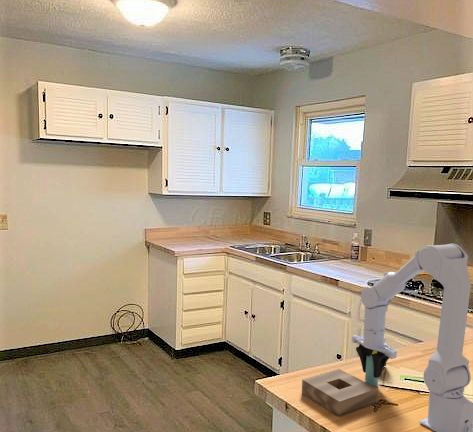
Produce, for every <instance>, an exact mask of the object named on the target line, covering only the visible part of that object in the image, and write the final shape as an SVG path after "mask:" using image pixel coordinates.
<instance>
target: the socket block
mask: <svg viewBox="0 0 473 432" xmlns="http://www.w3.org/2000/svg"><path fill="white" fill-rule="evenodd" d="M378 390H379V389H378V387H377V386H376V387H374V386H372V385H370V384H368V383H366V382H365V380H362V379H360V378H358V377H356V376H355V375H352V374H351V373H348V372H346V371H344V370H342V369H341V368H337V369H333V370H330V371H327V372H324V373H320V374H317V375H313V376H309V377H307V378H303V379H302V380H301V394H302V395H303V396H305V397H306V398H307V399H309V400H311V401H313V402H314V401H315V402H314V403H316V402H317V403H318V405H319V404H320V406H321V407H322V408H324V409H325V408H326V409H325V410H327V411H328V412H330V411H331V412H330V413H332V414H333V413H334V414H333V415H334V416H336V415H337V416H336V417H338V416H340V417H342V415H343V416H345V415H348V414H351V413H353V412H356V411H359V410H362V409H365V408H367V407H370V406H372V405H375V404H378V392H379V391H378ZM317 403H316V404H317Z"/></svg>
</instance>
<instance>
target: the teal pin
mask: <svg viewBox="0 0 473 432" xmlns="http://www.w3.org/2000/svg"><path fill="white" fill-rule="evenodd" d="M364 376H365V377H364V382H366V383H368V384H370V385H372V386H374V387H376V388H377V387H378V385H379V383H378V382H379V377H378V378H375V377H374V363H373V358H372V355H367V356H366V372H365V375H364Z"/></svg>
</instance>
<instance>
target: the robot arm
mask: <svg viewBox="0 0 473 432" xmlns="http://www.w3.org/2000/svg"><path fill="white" fill-rule="evenodd" d="M468 258H469V255H468V254H467V253H466V252H465V251H464V249H463V248H462V247H461V246H460V245H459V244H456V243H447V244H439V245H438V244H435V245H434V244H433V245H429V244H427V245H424V246H422V247H421V248H420V249H418V250H417V251H415V252H414V255H413V256H412V257H411V258H410V259H409V260H408V261H407V262H406V263H404V265H402V267H400V268H399V269H398V270H397V271H387V272H384V274H383V277H382V278H381V279H379V280H378V281H375V282H374V283H373V285H372V286H365V287H364V288H363V289H362V291H361V292H360V293H361V294H360V300H361V303H362V304H363V306H364V318H363V319H364V320H363V336H362V335H358V334H355V335H352V336H351V343H354V344H358V346H357V347H355V351H356V352H357V356H358V357H359V359H360V362H361V368H362V372H363V373H366V356H367V355H372V358H373V363H374V377H375V378H378V379H379V378H380V377H382V373H383V371H384V369H385V368H384V366H385V364H386V365H387V362H388V361H389V359H390V360H394V359H397V350H395V349H393V348H391V347H390V346H389V345H388V344H387V343H386V341H384V336H386V334H385V333H386V331H385V330H386V313H387V312H388V307H389V305H390V304H391V303H392V299H393V298H394V297H396V296H397V295H398V294H400V293H402V291H404V289H406V282H408V281H410V280H411V279H413V278H414V277H416V276H417V275H419V274H420V273H422V272H423V271H425V272H426V273H427V274H428V275H430V276H431V277H432V278H434V280H435V281H437V282H438V283H440V284H441V285H442V287H443V293H442V294H443V295H442V304H441V310H440V320H439V327H438V337H437V344H436V346H437V347H436V350H435V351H434V353H433V354H432V355H431V356H430V357H429V359H428V363H427V366H426V368H425V369H424V372H423V381H424V383H425V386H426V387H427V391H429V393H428V408H427V409H428V411H427V417H425V418H423V419H420V420H419V424H421V425H423V426H424V427H426V428H429V429H430V430H432V431H434V432H473V401H471V400H470V399H468V398H467V397H465V395H464V392H465V387H467V386H469V384H470V382H471V379H472V378H471V377H472V376H471V371H470V368H469V367H470V366H469V365H470V364H469V363H470V361H469V359H468V358H467V357H466V356H465V355H464V354H463V351H464V342H465V336H466V335H465V333H466V328H467V327H466V326H467V320H468V310H469V303H470V295H471V289H472V288H471V287H472V279H471V277H470V276H471V275H470V273H469V269H468ZM385 343H386V344H387V345H386V344H385ZM373 350H374V351H377V353H375V354H372V353H373ZM383 368H384V369H383Z"/></svg>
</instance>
